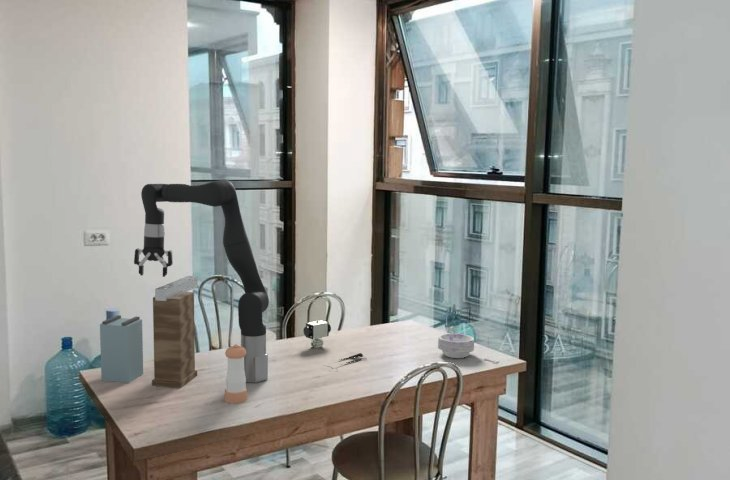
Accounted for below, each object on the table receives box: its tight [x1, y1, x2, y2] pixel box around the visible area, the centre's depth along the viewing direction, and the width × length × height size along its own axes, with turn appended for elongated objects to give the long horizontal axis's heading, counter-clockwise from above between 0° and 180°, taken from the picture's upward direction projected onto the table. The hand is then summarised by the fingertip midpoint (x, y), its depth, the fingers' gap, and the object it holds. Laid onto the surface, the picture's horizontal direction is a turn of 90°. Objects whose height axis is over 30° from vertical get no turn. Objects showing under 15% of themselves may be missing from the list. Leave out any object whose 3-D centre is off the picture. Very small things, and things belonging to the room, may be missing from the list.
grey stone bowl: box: [437, 333, 475, 359], centre depth 281 cm, size 15×15×8 cm
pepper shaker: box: [224, 344, 248, 404], centre depth 224 cm, size 7×7×19 cm
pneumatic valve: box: [303, 319, 332, 349], centre depth 289 cm, size 6×12×12 cm, turn 130°
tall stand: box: [151, 291, 198, 389], centre depth 241 cm, size 14×11×32 cm
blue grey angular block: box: [99, 314, 144, 384], centre depth 244 cm, size 10×11×22 cm
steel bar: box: [154, 275, 199, 301], centre depth 242 cm, size 26×4×4 cm, turn 170°
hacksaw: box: [340, 352, 368, 364], centre depth 268 cm, size 24×10×2 cm, turn 133°
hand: (153, 275), depth 261 cm, fingers open, 8 cm apart
